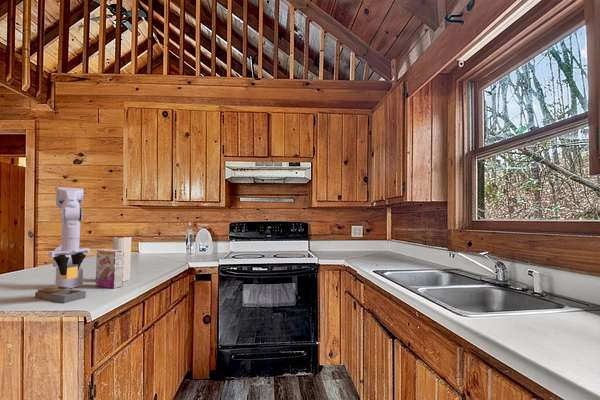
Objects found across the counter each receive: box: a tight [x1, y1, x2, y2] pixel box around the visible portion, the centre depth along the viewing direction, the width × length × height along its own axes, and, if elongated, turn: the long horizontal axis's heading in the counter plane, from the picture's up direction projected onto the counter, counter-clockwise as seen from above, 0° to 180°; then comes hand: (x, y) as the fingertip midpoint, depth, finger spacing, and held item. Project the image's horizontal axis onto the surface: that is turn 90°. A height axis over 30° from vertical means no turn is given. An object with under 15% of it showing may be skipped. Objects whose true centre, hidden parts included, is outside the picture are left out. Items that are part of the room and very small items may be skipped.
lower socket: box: [49, 288, 87, 304], centre depth 124 cm, size 8×8×3 cm
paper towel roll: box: [112, 236, 133, 283], centre depth 157 cm, size 7×6×21 cm
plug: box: [60, 264, 78, 279], centre depth 125 cm, size 4×4×5 cm
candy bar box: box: [95, 248, 124, 290], centre depth 146 cm, size 11×5×16 cm, turn 71°
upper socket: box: [34, 286, 73, 301], centre depth 128 cm, size 9×9×3 cm
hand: (69, 273), depth 125 cm, fingers closed on plug, 4 cm apart
